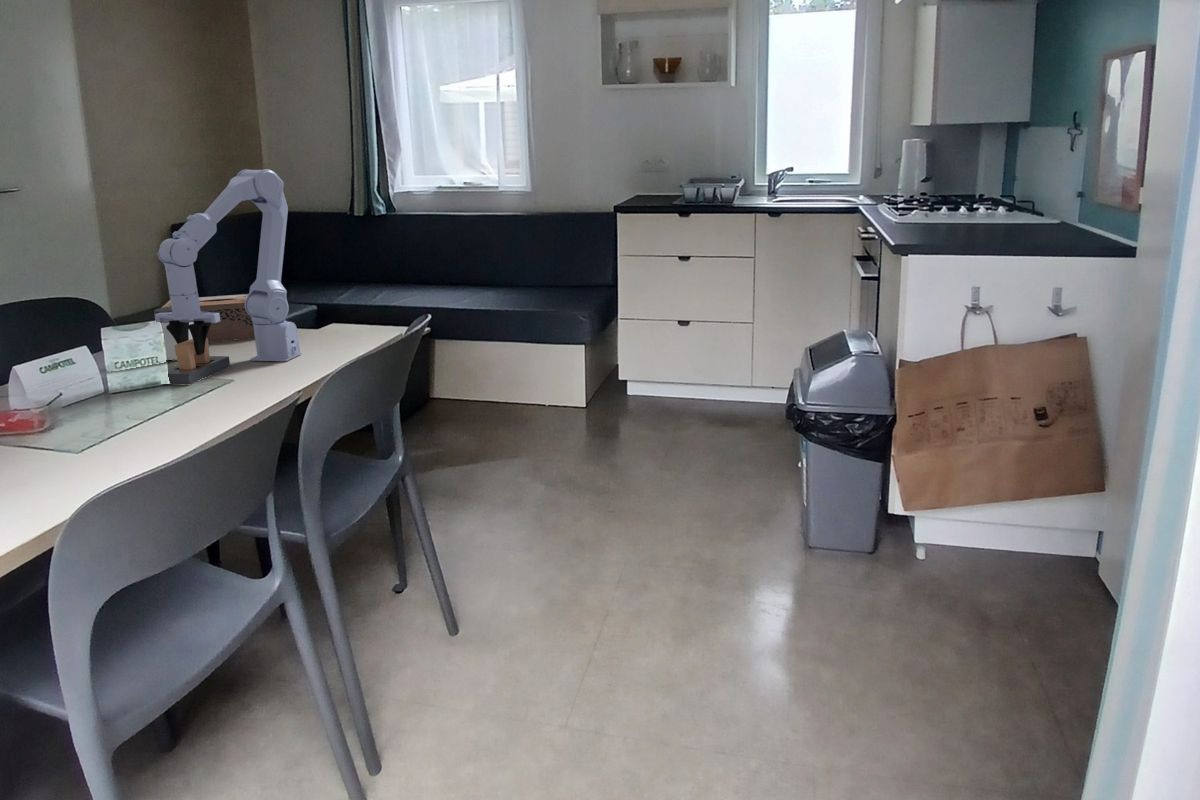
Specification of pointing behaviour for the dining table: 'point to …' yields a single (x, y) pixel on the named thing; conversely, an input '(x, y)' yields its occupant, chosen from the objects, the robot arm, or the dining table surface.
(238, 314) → the tissue box cover
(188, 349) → the tan block
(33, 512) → the dining table surface
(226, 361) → the grey slotted tray
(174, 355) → the jar
